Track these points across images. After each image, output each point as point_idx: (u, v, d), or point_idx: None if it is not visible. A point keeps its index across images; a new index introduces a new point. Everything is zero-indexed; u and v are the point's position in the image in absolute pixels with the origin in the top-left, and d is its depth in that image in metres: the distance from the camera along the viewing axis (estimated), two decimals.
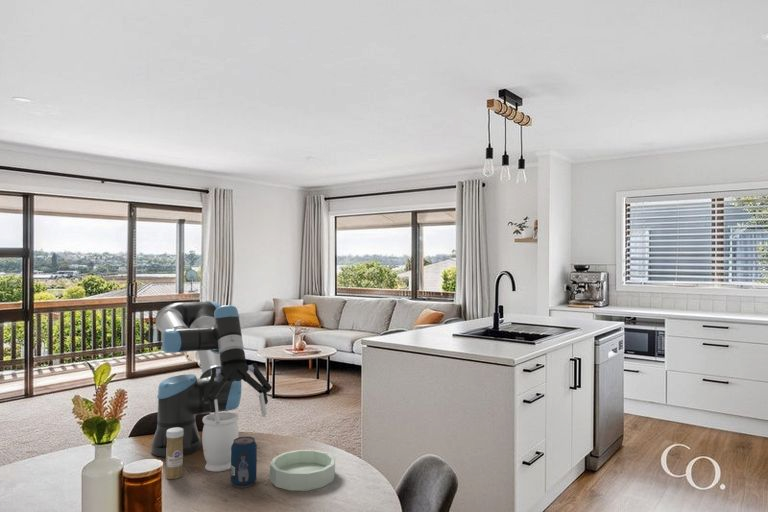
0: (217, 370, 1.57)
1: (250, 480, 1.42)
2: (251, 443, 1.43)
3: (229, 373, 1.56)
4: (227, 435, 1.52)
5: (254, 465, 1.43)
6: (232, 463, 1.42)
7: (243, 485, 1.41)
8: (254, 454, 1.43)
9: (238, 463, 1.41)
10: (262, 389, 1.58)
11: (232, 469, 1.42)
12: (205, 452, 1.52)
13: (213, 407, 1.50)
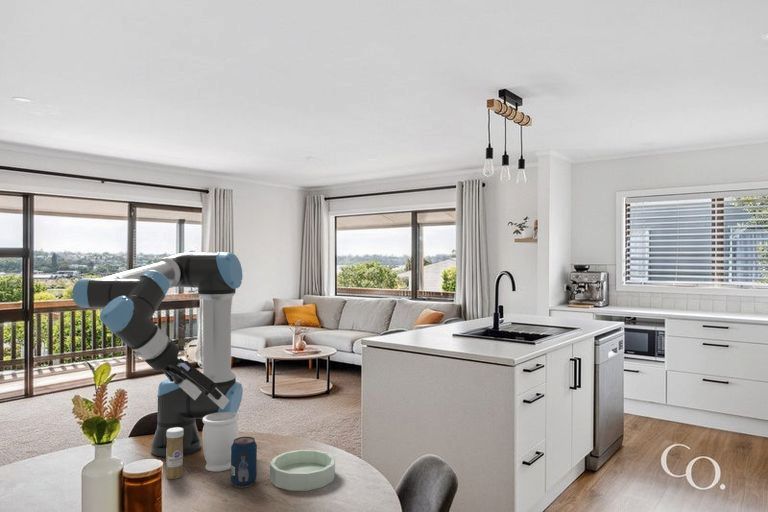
0: None
1: (250, 480, 1.42)
2: (251, 443, 1.43)
3: (168, 372, 1.30)
4: (227, 435, 1.52)
5: (254, 465, 1.43)
6: (232, 463, 1.42)
7: (243, 485, 1.41)
8: (254, 454, 1.43)
9: (238, 463, 1.41)
10: (204, 391, 1.28)
11: (232, 469, 1.42)
12: (205, 452, 1.52)
13: None
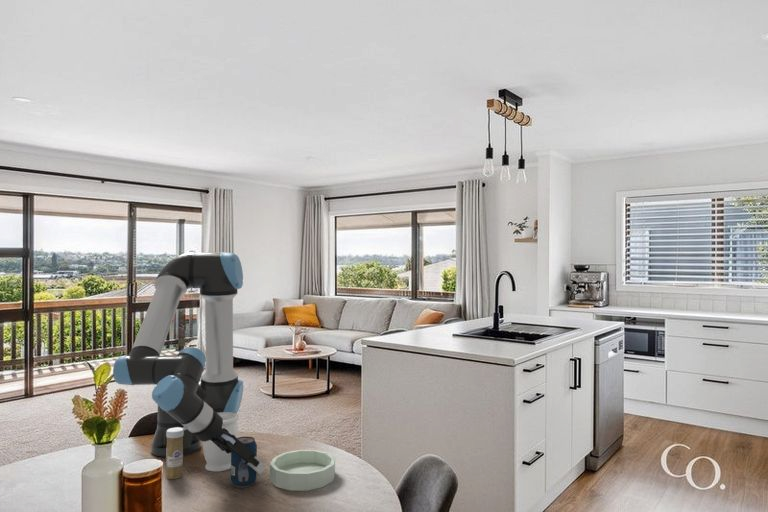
0: None
1: (250, 479, 1.42)
2: (251, 443, 1.43)
3: None
4: None
5: None
6: (232, 463, 1.42)
7: (243, 485, 1.41)
8: None
9: (238, 463, 1.41)
10: (244, 459, 1.39)
11: (232, 469, 1.42)
12: (205, 452, 1.52)
13: None
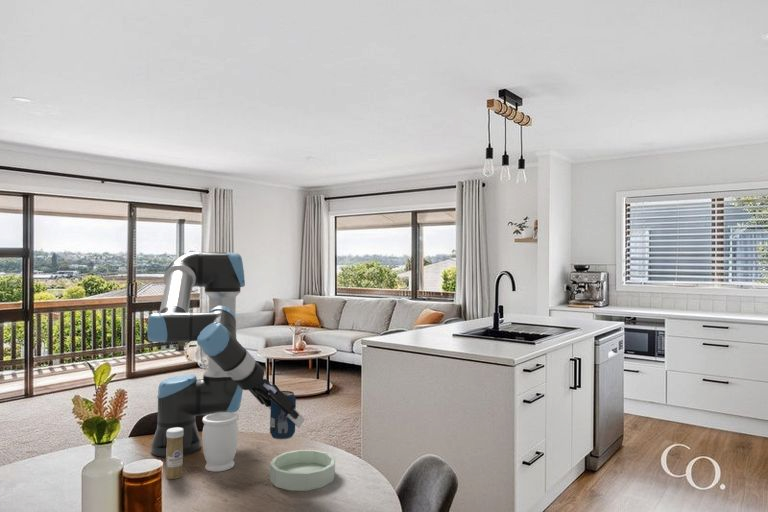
0: None
1: (290, 432, 1.43)
2: (290, 396, 1.44)
3: (254, 392, 1.41)
4: (227, 435, 1.52)
5: None
6: (272, 415, 1.43)
7: (282, 437, 1.42)
8: None
9: (278, 415, 1.42)
10: (284, 411, 1.41)
11: (272, 421, 1.43)
12: (205, 452, 1.52)
13: None
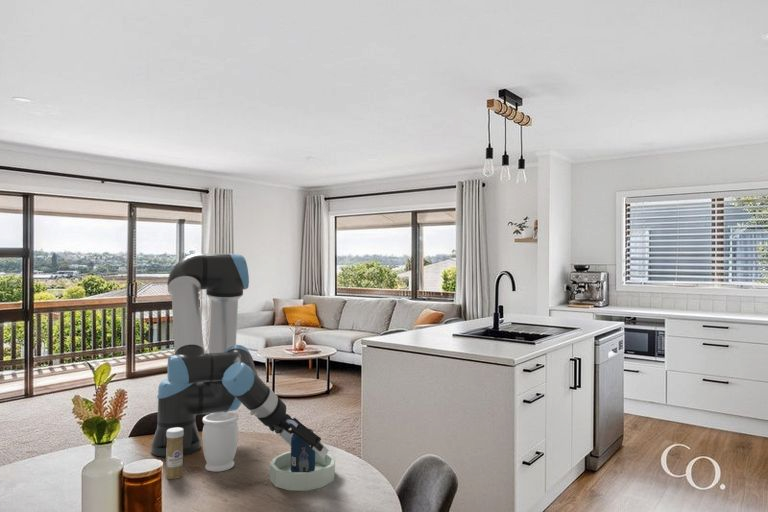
0: None
1: (310, 470, 1.46)
2: None
3: (274, 426, 1.44)
4: (227, 435, 1.52)
5: (313, 456, 1.48)
6: (293, 454, 1.46)
7: None
8: None
9: (299, 454, 1.45)
10: (309, 444, 1.41)
11: (293, 460, 1.46)
12: (205, 452, 1.52)
13: None
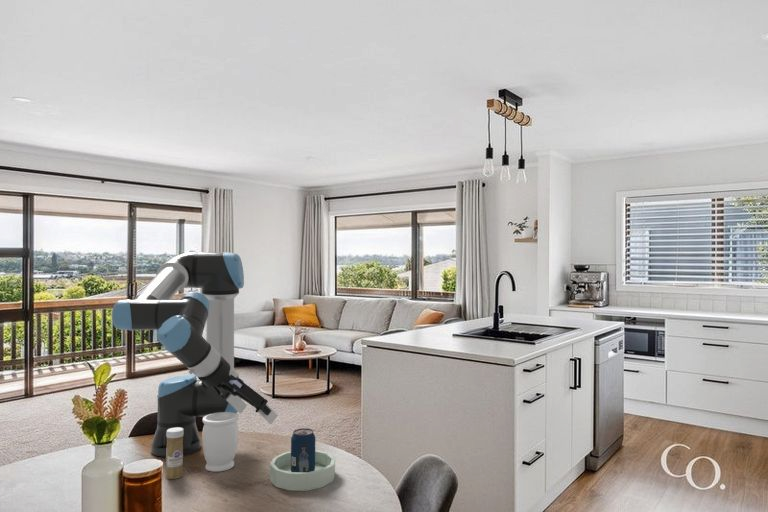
0: None
1: (310, 470, 1.46)
2: (311, 434, 1.47)
3: None
4: (227, 435, 1.52)
5: (313, 456, 1.48)
6: (293, 454, 1.46)
7: None
8: (313, 445, 1.48)
9: (299, 454, 1.45)
10: (255, 407, 1.31)
11: (293, 460, 1.46)
12: (205, 452, 1.52)
13: None
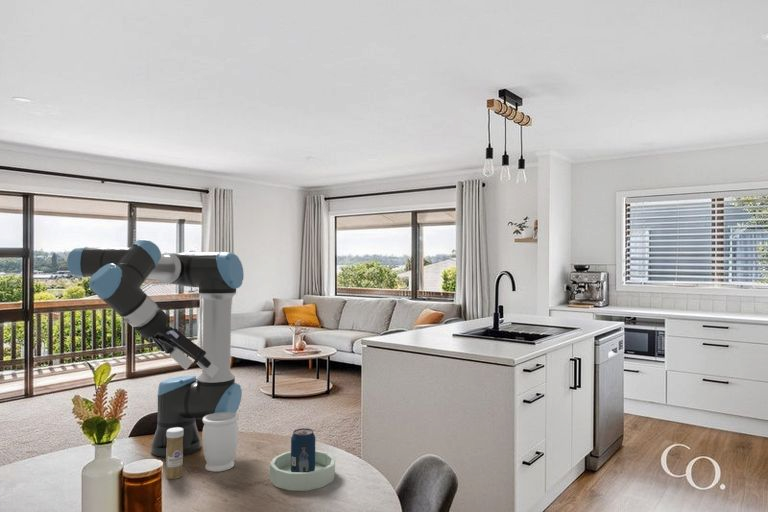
0: None
1: (310, 470, 1.46)
2: (311, 434, 1.47)
3: (158, 341, 1.32)
4: (227, 435, 1.52)
5: (313, 456, 1.48)
6: (293, 454, 1.46)
7: None
8: (313, 445, 1.48)
9: (299, 454, 1.45)
10: None
11: (293, 460, 1.46)
12: (205, 452, 1.52)
13: None
